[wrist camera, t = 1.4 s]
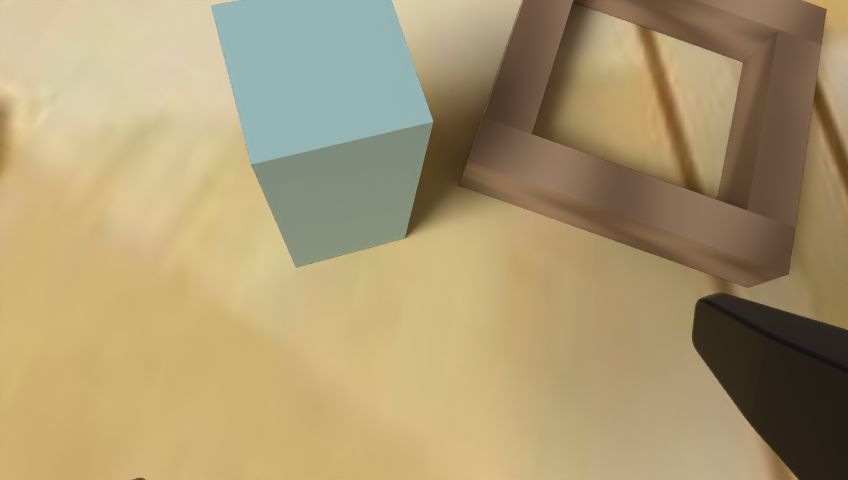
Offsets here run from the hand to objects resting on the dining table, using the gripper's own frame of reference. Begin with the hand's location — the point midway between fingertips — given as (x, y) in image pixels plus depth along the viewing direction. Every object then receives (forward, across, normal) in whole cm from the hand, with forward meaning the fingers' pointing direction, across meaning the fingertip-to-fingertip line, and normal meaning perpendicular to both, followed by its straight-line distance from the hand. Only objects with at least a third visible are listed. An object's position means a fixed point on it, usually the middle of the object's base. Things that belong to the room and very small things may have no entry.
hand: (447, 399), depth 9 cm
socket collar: (+16, -14, +3) cm, 22 cm away
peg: (+16, 0, +4) cm, 16 cm away
